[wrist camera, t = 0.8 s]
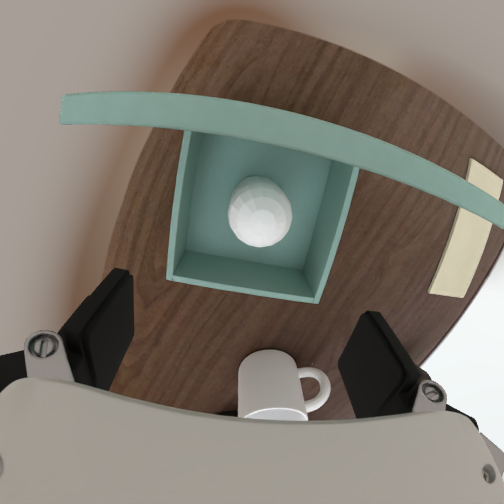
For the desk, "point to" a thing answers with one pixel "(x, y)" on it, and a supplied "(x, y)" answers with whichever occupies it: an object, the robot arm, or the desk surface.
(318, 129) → the lid
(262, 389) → the mug
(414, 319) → the desk surface
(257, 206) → the capsule
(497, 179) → the mat
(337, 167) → the mint green open box
